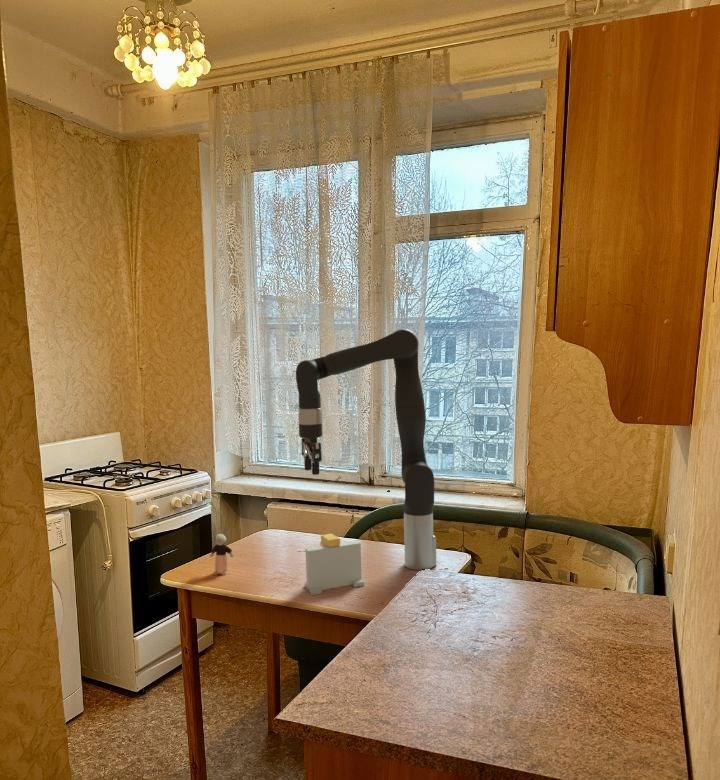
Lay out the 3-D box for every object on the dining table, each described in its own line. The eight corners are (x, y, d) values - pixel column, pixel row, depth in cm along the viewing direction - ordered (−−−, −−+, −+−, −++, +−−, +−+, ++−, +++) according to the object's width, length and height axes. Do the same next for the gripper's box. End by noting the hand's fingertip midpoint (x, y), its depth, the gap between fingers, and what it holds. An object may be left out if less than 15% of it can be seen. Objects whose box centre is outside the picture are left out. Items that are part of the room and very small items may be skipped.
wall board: (355, 577, 170) (354, 538, 169) (364, 585, 164) (363, 545, 163) (304, 586, 164) (303, 546, 164) (311, 595, 158) (310, 553, 157)
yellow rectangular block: (334, 573, 170) (332, 533, 170) (343, 580, 162) (340, 538, 163) (322, 575, 168) (319, 535, 169) (330, 582, 161) (327, 540, 161)
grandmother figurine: (208, 576, 174) (206, 536, 173) (211, 571, 177) (209, 532, 177) (233, 575, 174) (231, 535, 173) (235, 570, 178) (234, 531, 177)
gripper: (328, 423, 175) (329, 475, 176) (315, 419, 188) (316, 467, 189) (305, 425, 172) (306, 477, 173) (293, 420, 185) (294, 469, 186)
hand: (311, 472), depth 181 cm, fingers open, 8 cm apart
